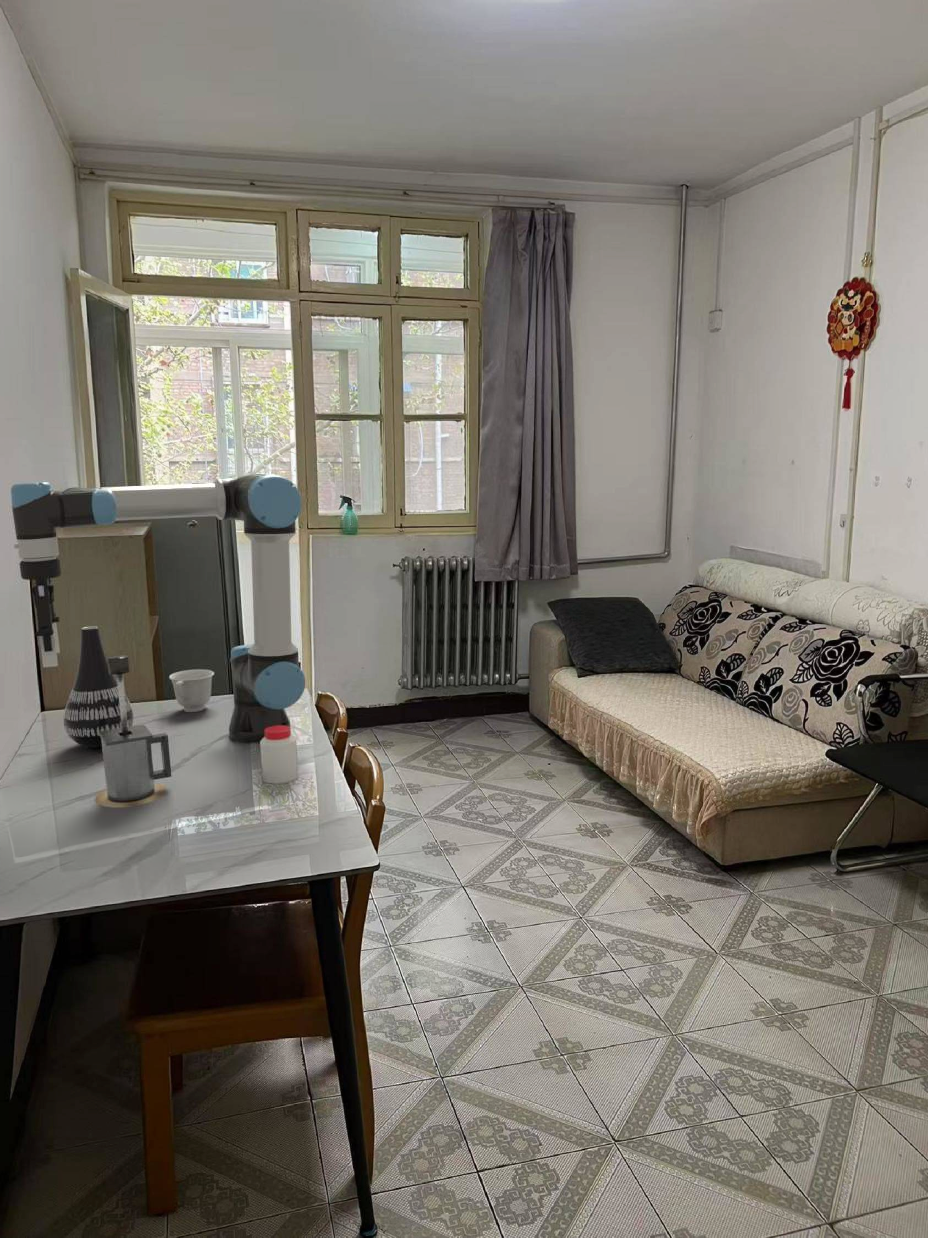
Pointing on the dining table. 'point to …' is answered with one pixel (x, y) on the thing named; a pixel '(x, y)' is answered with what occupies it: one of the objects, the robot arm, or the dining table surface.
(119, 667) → the plunger
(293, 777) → the pill bottle
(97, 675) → the vase
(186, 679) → the teacup
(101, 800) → the ring
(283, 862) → the dining table surface
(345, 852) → the dining table surface
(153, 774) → the french press
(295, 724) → the dining table surface
